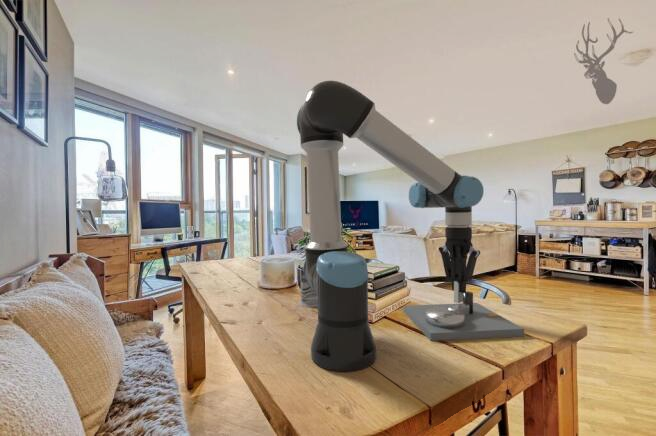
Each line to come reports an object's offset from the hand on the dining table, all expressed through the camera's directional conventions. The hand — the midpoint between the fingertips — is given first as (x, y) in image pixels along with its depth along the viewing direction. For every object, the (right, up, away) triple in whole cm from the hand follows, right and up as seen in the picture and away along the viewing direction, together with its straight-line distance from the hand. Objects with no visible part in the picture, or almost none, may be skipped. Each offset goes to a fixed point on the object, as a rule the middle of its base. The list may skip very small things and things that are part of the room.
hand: (458, 301), depth 94 cm
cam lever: (-5, -3, -7) cm, 9 cm away
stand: (-3, -5, -5) cm, 7 cm away
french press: (-46, -5, +16) cm, 49 cm away
